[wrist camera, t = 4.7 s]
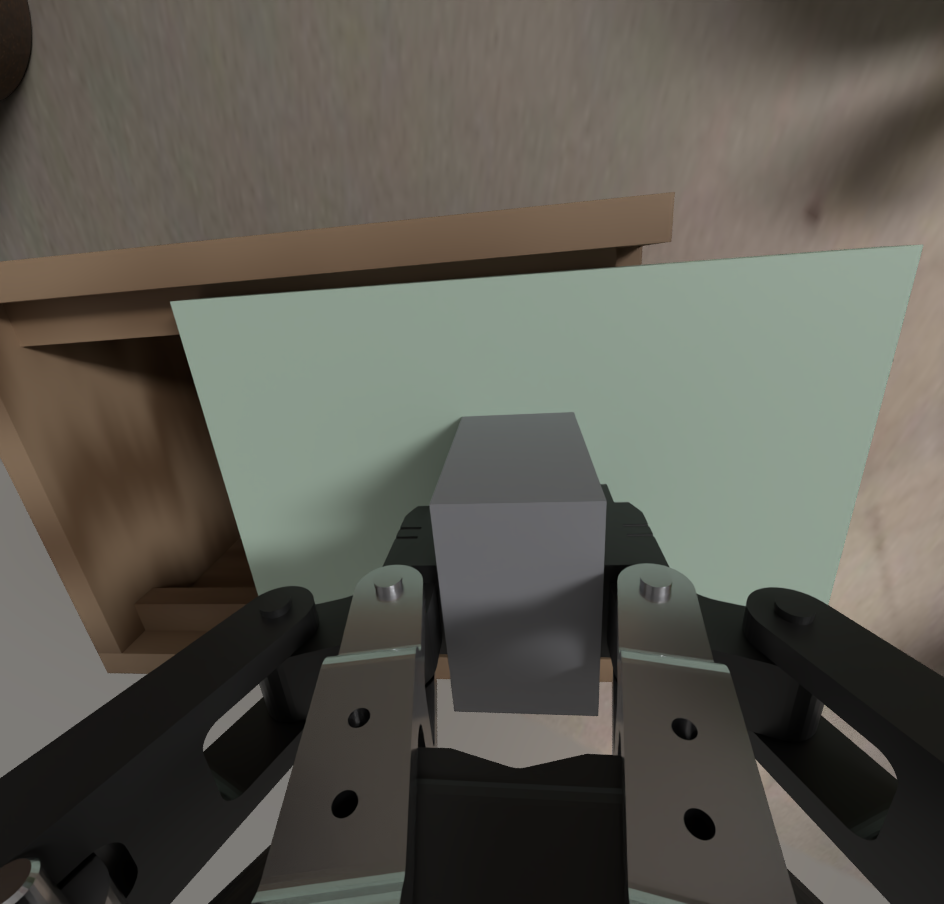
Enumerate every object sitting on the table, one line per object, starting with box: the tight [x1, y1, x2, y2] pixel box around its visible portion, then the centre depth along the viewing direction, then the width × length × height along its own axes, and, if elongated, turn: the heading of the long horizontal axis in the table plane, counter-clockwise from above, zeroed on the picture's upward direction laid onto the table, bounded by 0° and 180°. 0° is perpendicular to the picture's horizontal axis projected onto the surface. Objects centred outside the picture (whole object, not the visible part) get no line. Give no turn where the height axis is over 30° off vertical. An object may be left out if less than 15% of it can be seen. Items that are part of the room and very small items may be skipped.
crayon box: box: [0, 192, 675, 682], centre depth 19 cm, size 15×20×10 cm
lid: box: [170, 245, 923, 716], centre depth 12 cm, size 12×18×6 cm, turn 94°
